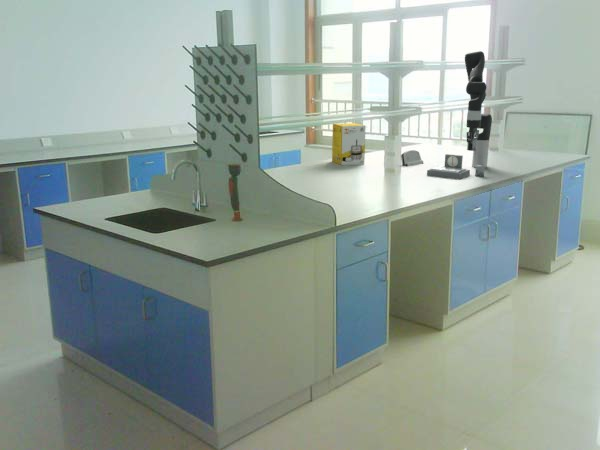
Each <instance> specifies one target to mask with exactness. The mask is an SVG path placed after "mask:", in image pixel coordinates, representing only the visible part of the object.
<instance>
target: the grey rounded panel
mask: <svg viewBox="0 0 600 450" xmlns="http://www.w3.org/2000/svg"><path fill="white" fill-rule="evenodd" d="M400 160H401V165H402V166H407V167H410V166H416V165H423V164H424V160H423V159H422V158H421V155H420V151H418V150H415V149H413V150H407V151H405V152H403V153H402V154H400Z"/></svg>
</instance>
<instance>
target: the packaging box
mask: <svg viewBox="0 0 600 450" xmlns="http://www.w3.org/2000/svg"><path fill="white" fill-rule="evenodd" d="M331 147H332V148H331V151H332V152H331V155H332V156H331V161H332V163H335V164H338V165H339V166H352V165H353V166H355V165H357V166H358V165H365V156H366V155H365V154H366V153H365V151H366V125H364V124H359V123H357V122H353V123H347V122H346V123H344V122H343V123H333V124H332V145H331Z"/></svg>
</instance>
